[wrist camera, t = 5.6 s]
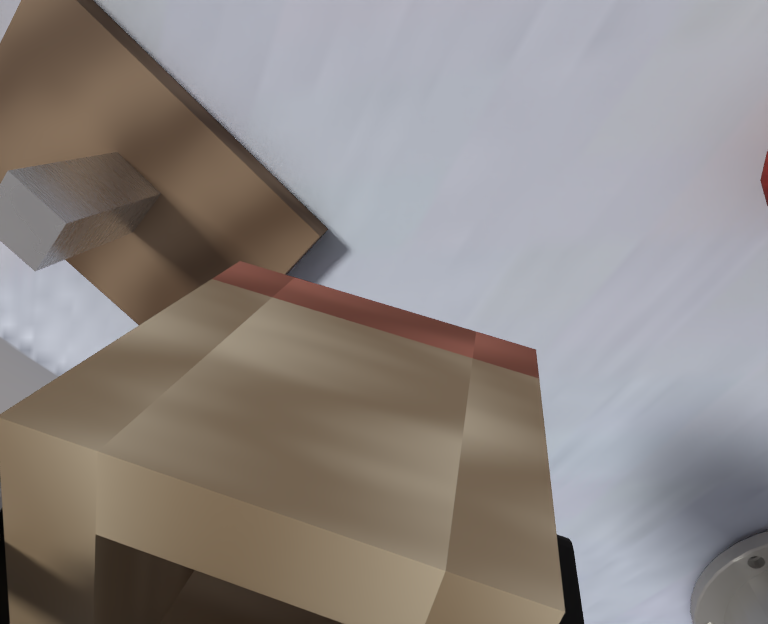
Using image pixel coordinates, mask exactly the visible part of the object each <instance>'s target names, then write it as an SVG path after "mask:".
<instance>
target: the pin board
mask: <svg viewBox="0 0 768 624" xmlns="http://www.w3.org/2000/svg"><path fill="white" fill-rule="evenodd" d="M113 152H118V153H119V154H120V155H121V156H122V157H123V158H124V159H125V160H126V161H127V162H128V163H129V164H130V165H132V166H133V167H134V168H135V169H136V170H137V171H138V172H139V173H140V174H141V175H142V176H143V177H144V178H145V179H147V180H148V181H149V182H150V183H151V184H152V185H153V186H154V187H155V188H156V189H157V190H158V191H159V192H160V193H161V195H160V196H159V197H158V199H157V200H156V202H155V203H154V204H153V206H152V207H151V208H150V210H149V211H148V213H147V214H146V215H145V217H144V218H143V219H142V221H141V222H140V224H139V225H138V226H137V228H136V229H135V230H134V232H133V233H130V234H128V235H125V236H123V237H120V238H118V239H115V240H113V241H110V242H108V243H105V244H103V245H100V246H98V247H95V248H93V249H90V250H88V251H85V252H83V253H80V254H78V255H75V256H73V257H70V258H68V259H65V260H66V261H67V262H68V263H70V264H71V265H72V266H73V267H74V268H75V269H76V270H77V271H79V272H80V273H81V274H82V275H83V276H84V277H85V278H86V279H88V280H89V281H90V282H91V283H92V284H93V285H94V286H95V287H97V288H98V289H99V290H100V291H101V292H102V293H103V294H104V295H106V296H107V297H108V298H109V299H110V300H111V301H112V302H113V303H115V304H116V305H117V306H118V307H119V308H120V309H121V310H122V311H124V312H125V313H126V314H127V315H128V316H129V317H130V318H131V319H133V320H134V321H135V322H136V323H137V324H138V325H141V324H142V323H144V322H145V321H147V320H148V319H150V318H152V317H153V316H155V315H156V314H158V313H159V312H161V311H163V310H164V309H166V308H167V307H169V306H170V305H172V304H173V303H175V302H177V301H178V300H180V299H181V298H183V297H184V296H186V295H188V294H189V293H191V292H192V291H194V290H195V289H197V288H199V287H200V286H202V285H203V284H205V283H206V282H208V281H209V280H211V279H213V278H214V277H216V276H217V275H219V274H220V273H222V272H224V271H225V270H227V269H228V268H230V267H231V266H233V265H234V264H236V263H238V262H239V261H242V262H245V263H248V264H252V265H255V266H258V267H262V268H265V269H268V270H272V271H275V272H278V273H282V274H285V275H286V274H287V273H288V272H289V271H290V270H291V269H292V268H293V267H294V266H295V265H296V263H297V262H298V261H299V260H300V259H301V258H302V257H303V256H304V255H305V254H306V253H307V252H308V251H309V249H310V248H311V247H312V246H313V245H314V244H315V243H316V242H317V241H318V240H319V239H320V238H321V236H322V235H323V234H324V233H325V232H326V231H327V230H328V229H327V228H326V227H325V226H324V225H323V224H322V223H321V222H320V221H319V220H318V219H317V218H316V217H315V216H314V215H313V214H312V213H311V212H310V211H309V210H308V209H307V208H306V207H305V206H304V205H303V204H302V203H301V202H300V201H299V200H298V199H297V198H296V197H295V196H294V195H292V194H291V193H290V192H289V191H288V190H287V189H286V188H285V187H284V186H283V185H282V184H281V183H280V182H279V181H278V180H277V179H276V178H275V177H274V176H273V175H272V174H271V173H270V172H269V171H268V170H267V169H266V168H265V167H264V166H263V165H262V164H261V163H260V162H259V161H258V160H256V159H255V158H254V157H253V156H252V155H251V154H250V153H249V152H248V151H247V150H246V149H245V148H244V147H243V146H242V145H241V144H240V143H239V142H238V141H237V140H236V139H235V138H234V137H233V136H232V135H231V134H230V133H229V132H228V131H227V130H226V129H225V128H224V127H223V126H222V125H220V124H219V123H218V122H217V121H216V120H215V119H214V118H213V117H212V116H211V115H210V114H209V113H208V112H207V111H206V110H205V109H204V108H203V107H202V106H201V105H200V104H199V103H198V102H197V101H196V100H195V99H194V98H193V97H192V96H191V95H190V94H189V93H188V92H187V91H186V90H184V89H183V88H182V87H181V86H180V85H179V84H178V83H177V82H176V81H175V80H174V79H173V78H172V77H171V76H170V75H169V74H168V73H167V72H166V71H165V70H164V69H163V68H162V67H161V66H160V65H159V64H158V63H157V62H156V61H155V60H154V59H153V58H152V57H151V56H150V55H149V54H147V53H146V52H145V51H144V50H143V49H142V48H141V47H140V46H139V45H138V44H137V43H136V42H135V41H134V40H133V39H132V38H131V37H130V36H129V35H128V34H127V33H126V32H125V31H124V30H123V29H122V28H121V27H120V26H119V25H118V24H117V23H116V22H115V21H114V20H113V19H111V18H110V17H109V16H108V15H107V14H106V13H105V12H104V11H103V10H102V9H101V8H100V7H99V6H98V5H97V4H96V3H95V2H94V1H93V0H21V2H20V4H19V6H18V8H17V10H16V12H15V14H14V16H13V18H12V21H11V23H10V25H9V27H8V29H7V31H6V33H5V35H4V37H3V39H2V41H1V43H0V184H1V182H2V180H3V178H4V176H5V175H6V173H7V171H9V170H14V169H20V168H26V167H32V166H38V165H43V164H49V163H55V162H61V161H67V160H73V159H78V158H84V157H90V156H96V155H102V154H107V153H113Z"/></svg>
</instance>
